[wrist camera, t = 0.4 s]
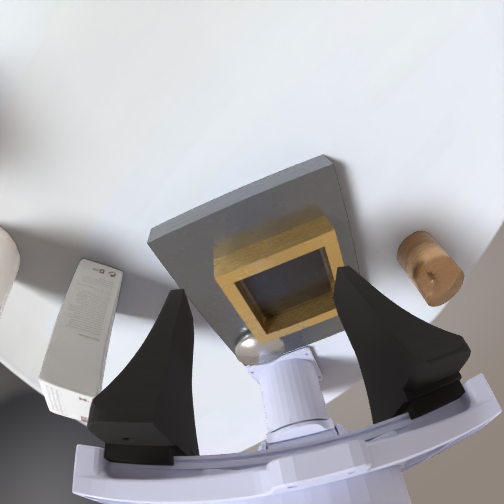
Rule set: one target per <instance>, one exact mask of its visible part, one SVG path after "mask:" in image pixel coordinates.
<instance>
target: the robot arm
mask: <svg viewBox="0 0 504 504" xmlns="http://www.w3.org/2000/svg"><path fill="white" fill-rule="evenodd" d="M333 300H334V303H335V307H336V310H337V313H338V316H339V318H340V321H341V323H342V325H343V327H344V329H345V332H346V334H347V336H348V338H349V340H350V342H351V345H352V347H353V349H354V351H355V354H356V356H357V359H358V362H359V365H360V369H361V372H362V375H363V379H364V382H365V387H366V390H367V395H368V399H369V404H370V409H371V414H372V420H373V425H370V426H367V427H364V428H360V429H357V430H354V431H350V432H348V431H347V429H346V428H345V427H344V426H341V425H340V424H336V425H334V423H333V420H332V418H331V419H330V418H329V415H328V411H327V408H326V404H325V401H324V397H323V394H322V391H321V387H320V384H319V382H321V381H323V380H324V377H323V375H322V373H321V371H320V369H319V367H318V365H317V362H316V360H315V358H314V356H313V354H312V352H311V350H310V348H309V347H305V348H302V349H299V350H297V351H294V352H291V353H288V354H285V355H282V356H281V357H280V358H278V359H277V360H275V361H273V362H271V363H268V364H264V365H252V366H249V367H248V368H247V371H248V373H249V374H250V375H251V376H252V377H253V378H254V379H255V380H256V381H257V382H258V384H259V385H260V387H261V393H262V399H263V405H264V410H265V416H266V422H267V428H268V434H266V438H267V441H265V442H262V443H261V445H260V446H259V448H258V451H250V452H242V453H232V454H220V455H204V456H199V449H198V443H197V436H196V428H195V420H194V409H193V397H192V365H193V348H194V326H193V317H192V314H191V310H190V307H189V304H188V301H187V297H186V294H185V291H184V289H178V290H171V291H170V292H169V295H168V297H167V299H166V302H165V304H164V306H163V308H162V310H161V312H160V314H159V316H158V318H157V320H156V322H155V324H154V326H153V327H152V329H151V331H150V332H149V334H148V336H147V338H146V339H145V341H144V342H143V344H142V346H141V347H140V349H139V350H138V351H137V353H136V354H135V356H134V357H133V358H132V359H131V361H130V362H129V363H128V365H127V366H126V367H125V368H124V369H123V371H122V372H121V373H120V374H119V375H118V376H117V377H116V378H115V379H114V380H113V381H112V382H111V383H110V384H109V385H108V386H107V387H106V388H105V389H104V390H103V391H102V392H100V393H99V394H98V395H97V396H96V397H94V398H93V399H92V403H91V406H90V410H89V417H88V423H87V427H88V429H89V430H90V431H91V432H92V433H93V434H94V435H95V436H97V437H98V438H99V439H101V440H102V441H103V442H105V449H103V448H100V447H94V446H87V445H79V444H78V445H77V448H76V456H75V466H74V477H73V491H72V492H73V493H75V494H77V495H80V496H83V497H85V498H88V499H91V500H94V501H98V502H100V503H105V504H411V500H410V497H409V494H408V491H407V488H406V484H405V481H404V478H403V475H402V471H405V470H407V469H409V468H411V467H413V466H416V465H418V464H420V463H422V462H424V461H426V460H428V459H430V458H432V457H434V456H436V455H438V454H440V453H441V452H443V451H445V450H447V449H448V448H451V447H452V446H454V445H456V444H458V443H459V442H461V441H463V440H464V439H466V438H468V437H469V436H471V435H473V434H474V433H476V432H478V431H479V430H480V429H481V428H483V427H484V426H485V425H486V424H488V423H489V422H490V421H491V420H493V419H494V418H495V417H496V416H497V415H498V414H500V413H501V411H502V410H501V408H500V406H499V404H498V402H497V400H496V398H495V396H494V394H493V392H492V390H491V388H490V387H489V385H488V383H487V381H486V379H485V377H484V376H483V374H482V373H481V374H478V375H477V376H475V377H473V378H471V379H469V380H467V381H466V382H464V383H463V384H461V382H460V379H461V374H460V373H459V371H460V369H461V368H462V367H463V365H464V364H465V363H466V361H467V360H468V358H469V356H470V353H471V351H470V348H469V347H468V345H467V343H466V342H465V340H464V339H463V337H462V336H460V335H456V334H453V333H451V332H448V331H445V330H443V329H440V328H438V327H435V326H433V325H431V324H429V323H427V322H425V321H423V320H421V319H419V318H417V317H416V316H414V315H412V314H410V313H409V312H407V311H406V310H404V309H402V308H401V307H399V306H398V305H396V304H395V303H394V302H392V301H391V300H390V299H388V298H387V297H386V296H384V295H383V294H382V293H381V292H379V291H378V290H377V289H376V288H374V287H373V286H372V285H371V284H370V283H369V282H367V281H366V280H365V279H364V278H363V277H362V276H360V275H359V274H358V273H357V272H356V271H355V270H354V269H352V268H351V267H350V266H343V267H337V273H336V280H335V287H334V294H333Z"/></svg>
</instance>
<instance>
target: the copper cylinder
mask: <svg viewBox="0 0 504 504" xmlns="http://www.w3.org/2000/svg"><path fill="white" fill-rule="evenodd" d="M397 260H398V263H399V264H400V265H401V267H402V268H403V269H404V271H405V272H406V274H407V275H408V276H409V278H410V279H411V280H412V282H413V283H414V285H415V286H416V288H417V289H418V290H419V292H420V293H421V295H422V296H423V298H424V299H425V301H426V302H427V304H428V305H429V306H433V307H435V306H439V305H442V304H444V303H446V302H447V301H448V300H450V299H451V298H452V297H453V296H454V295H455V294H456V293H457V292H458V290H459V289H460V287H461V285H462V283H463V280H464V273H463V271H462V270H461V269H460V268H459V267H458V265H457V264H456V263H455V262H454V261H453V260H452V259H451V258H450V256H449V255H448V254H447V253H446V252H445V251H444V250H443V249H442V248H441V246H440V245H439V244H438V243H437V242H436V241H435V240H434V239H433V238H432V237H431V236H430V235H429V234H428V233H427V232H425V231H418V232H415V233H413V234H411V235H410V236H408V237H407V238H406V239H405V240H404V241H403V242H402V244H401V245H400V247H399V249H398V253H397Z"/></svg>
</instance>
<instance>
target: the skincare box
mask: <svg viewBox="0 0 504 504" xmlns="http://www.w3.org/2000/svg"><path fill="white" fill-rule="evenodd" d="M122 277H123V272H122V271H120V270H117V269H115V268H112V267H109V266H106V265H102V264H100V263H96V262H93V261H90V260H87V259H82V260H81V261H80V263H79V265H78V267H77V269H76V271H75V274H74V276H73V279H72V281H71V284H70V286H69V288H68V291H67V294H66V296H65V299H64V301H63V304H62V306H61V309H60V312H59V314H58V317H57V320H56V323H55V325H54V328H53V331H52V334H51V337H50V341H49V344H48V347H47V350H46V354H45V358H44V361H43V364H42V368H41V371H40V374H39V377H38V379H39V382H40V385H41V388H42V390H43V393H44V396H45V399H46V402H47V404H48V407H49V410H50V411H51V412H54V413H56V414H59V415H63V416H66V417H70V418H73V419H77V420H80V421H84V422H88V417H89V410H90V406H91V403H92V399H93V398H94V397H96V396H97V395H98V394H99V393H100V392H101V389H102V382H103V376H104V369H105V363H106V357H107V352H108V346H109V341H110V336H111V331H112V326H113V321H114V317H115V312H116V308H117V302H118V297H119V292H120V287H121V282H122Z"/></svg>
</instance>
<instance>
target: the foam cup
mask: <svg viewBox="0 0 504 504" xmlns="http://www.w3.org/2000/svg"><path fill="white" fill-rule="evenodd" d="M19 268H20V255H19V252H18V249H17V246H16V244H15V242H14V241H13V240H12V238H11V237H10V235H9V234H8V233H7V232H6V231H5V230H3V229H2V228H1V227H0V317H1V314H2V311H3V308H4V306H5V303H6V300H7V298H8V295H9V292H10V290H11V287H12V285H13V282H14V280H15V277H16V275H17V273H18V269H19Z"/></svg>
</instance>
